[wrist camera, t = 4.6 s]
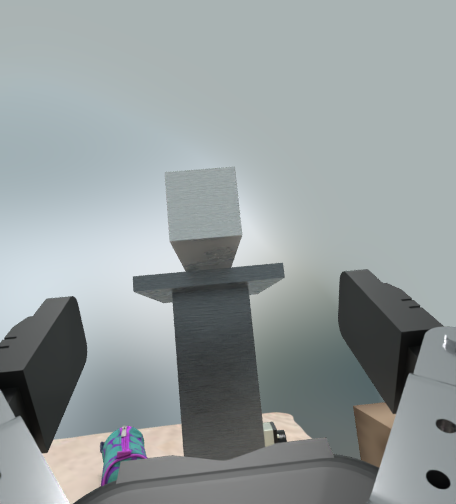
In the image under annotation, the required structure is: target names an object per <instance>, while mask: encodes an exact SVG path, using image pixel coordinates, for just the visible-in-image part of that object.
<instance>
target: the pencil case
mask: <svg viewBox="0 0 456 504" xmlns="http://www.w3.org/2000/svg"><path fill="white" fill-rule="evenodd" d="M100 452H101V453H102V457H103V463H104V466H103V474H102V481H101V486H103V485H105V484H108V483H110V482H113V481H115V480H117V477H118V472H119V467H120V462H121V461H129V460H138V459H146V458H147V457H146V453H145V449H144V438H143V435H142V434H141V432H140V431H138V430H137V429H136V428H134V427H129V426H127V427H126V426H125V425H124V427H122V428H119V429H118V430H116V431H114V432H113V433H112V434H111V435H110V436H109V437H108V438H107V440H106V442H101V443H100Z"/></svg>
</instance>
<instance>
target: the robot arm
mask: <svg viewBox="0 0 456 504" xmlns="http://www.w3.org/2000/svg"><path fill="white" fill-rule="evenodd" d="M338 322H339V328H340V332H341V335H342V337H343V339H344V340H345V341H346V343H347V345H348V346H349V348H350V349H351V351H352V352H353V354H354V355H355V357H356V358H357V360H358V361H359V363H360V364H361V366H362V368H363V369H364V370H365V372H366V374H367V375H368V377H369V378H370V380H371V381H372V383H373V384H374V386H375V387H376V389H377V391H378V392H379V394H380V395H381V397H382V398H383V400H384V401H385V403H386V404H387V406H388V407H389V409H390V410H391V412H392V414H396V416H395V419H394V423H393V426H392V429H391V432H390V436H389V439H388V442H387V445H386V448H385V452H384V455H383V458H382V461H381V465H380V468H379V467H377V466H375V465H372V464H370V463H367V462H365V461H362V460H359V459H356V458H352V457H347V456H343V455H337V454H333V453H332V450H331V448H330V445H329V443H328V440H327V438H326V437H325V438H316V439H308V440H299V441H291V442H282V443H276V444H273V445H270V446H267V447H265V448H262V449H259V450H256V451H253V452H250V453H248V454H245V455H242V456H239V457H236V458H233V459H230V460H225V461H221V460H211V459H201V458H192V457H183V456H173V455H172V456H163V457H155V458H146V459H138V460H129V461H121V462H120V467H119V472H118V477H117V480H115V481H113V482H110V483H108V484H105V485H103V486H101V487H99V488H97V489H95V490H93V491H92V492H90V493H88V494H86V495H85V496H83V497H82V498H80V499H79V500H78V501H76V502H75V503H73V504H456V327H444V326H443V325H442V324H441V323H439V322H438V321H437V320H436V319H435V318H434V317H433V316H431V315H430V314H429V313H428V312H427V311H425V310H424V309H423V308H420V305H419V304H417V303H416V302H415V301H414V300H412V298H411V297H410V296H408V295H407V294H406V293H405V292H404V291H402V290H401V289H399V288H396V287H394V286H392V285H390V284H387V283H382V282H381V281H380V280H379V279H377V277H376V276H375V275H373V274H372V273H371V272H370V271H369V270H367V269H365V270H354V271H344V272H342V273H341V275H340V285H339V311H338ZM86 358H87V343H86V338H85V333H84V329H83V325H82V320H81V316H80V311H79V307H78V303H77V300H76V298H75V297H73V296H72V297H60V298H49V299H46V300H45V301H44V302H43V304H42V305H41V306H40V308H39V309H38V310H37V311H36V313H35V314H34V316H31V317H27V318H26V319H24V320H23V321H21V322H20V323H18V324H17V325H16V326H14V327H13V328H12V329H11V330H10V332H9V333H8V334H7V335H6V336H5V338H4V340H2V341H1V343H0V504H70V503H69V501H68V499H67V497H66V496H65V494H64V492H63V490H62V489H61V487H60V485H59V483H58V482H57V480H56V478H55V476H54V474H53V473H52V471H51V469H50V467H49V466H48V464H47V462H46V460H45V458H44V457H43V455H42V453H48V450H49V448H50V446H51V443H52V441H53V439H54V436H55V434H56V431H57V429H58V427H59V424H60V422H61V419H62V417H63V415H64V413H65V410H66V408H67V405H68V403H69V401H70V398H71V396H72V394H73V391H74V389H75V386H76V384H77V382H78V379H79V377H80V375H81V372H82V370H83V368H84V365H85V363H86Z"/></svg>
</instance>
